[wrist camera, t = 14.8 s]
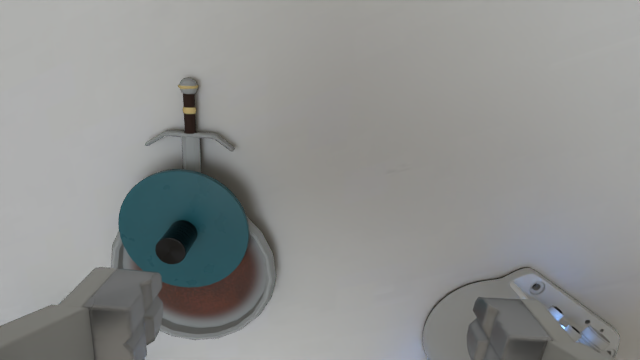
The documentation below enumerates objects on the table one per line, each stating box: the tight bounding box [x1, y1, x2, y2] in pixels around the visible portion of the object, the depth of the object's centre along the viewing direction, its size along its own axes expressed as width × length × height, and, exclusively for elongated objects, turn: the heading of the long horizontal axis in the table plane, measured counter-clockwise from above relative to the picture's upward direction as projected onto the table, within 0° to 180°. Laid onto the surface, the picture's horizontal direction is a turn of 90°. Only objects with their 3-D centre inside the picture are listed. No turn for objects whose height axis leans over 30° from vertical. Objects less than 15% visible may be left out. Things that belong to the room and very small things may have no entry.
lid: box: [119, 169, 249, 287], centre depth 37 cm, size 12×12×5 cm
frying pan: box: [111, 78, 276, 340], centre depth 40 cm, size 17×3×28 cm
